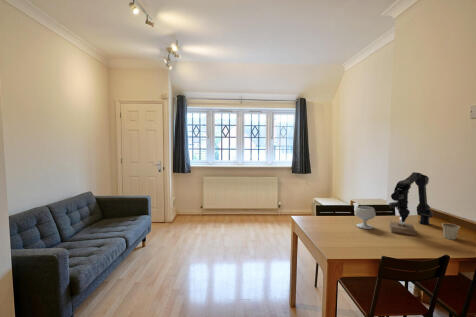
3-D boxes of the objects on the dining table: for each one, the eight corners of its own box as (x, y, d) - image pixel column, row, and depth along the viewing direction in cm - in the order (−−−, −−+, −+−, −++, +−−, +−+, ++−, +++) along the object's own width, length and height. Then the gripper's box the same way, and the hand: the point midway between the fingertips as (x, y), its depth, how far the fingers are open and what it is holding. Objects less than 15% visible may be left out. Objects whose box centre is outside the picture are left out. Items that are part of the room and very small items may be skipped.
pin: (399, 228, 179) (399, 216, 178) (404, 229, 177) (404, 217, 177) (399, 229, 176) (400, 217, 175) (405, 230, 174) (405, 218, 174)
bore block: (389, 226, 186) (389, 221, 186) (411, 229, 180) (412, 224, 179) (391, 232, 174) (391, 227, 174) (415, 235, 167) (415, 230, 167)
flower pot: (454, 235, 167) (454, 223, 166) (462, 241, 157) (463, 228, 157) (438, 234, 169) (438, 222, 168) (445, 239, 160) (446, 227, 159)
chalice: (370, 223, 192) (370, 205, 191) (378, 230, 178) (379, 210, 177) (352, 223, 194) (352, 205, 193) (359, 229, 180) (359, 210, 179)
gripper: (388, 195, 187) (388, 215, 188) (391, 200, 171) (390, 222, 172) (406, 196, 182) (405, 217, 183) (410, 202, 165) (409, 224, 166)
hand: (402, 220), depth 176 cm, fingers open, 9 cm apart
